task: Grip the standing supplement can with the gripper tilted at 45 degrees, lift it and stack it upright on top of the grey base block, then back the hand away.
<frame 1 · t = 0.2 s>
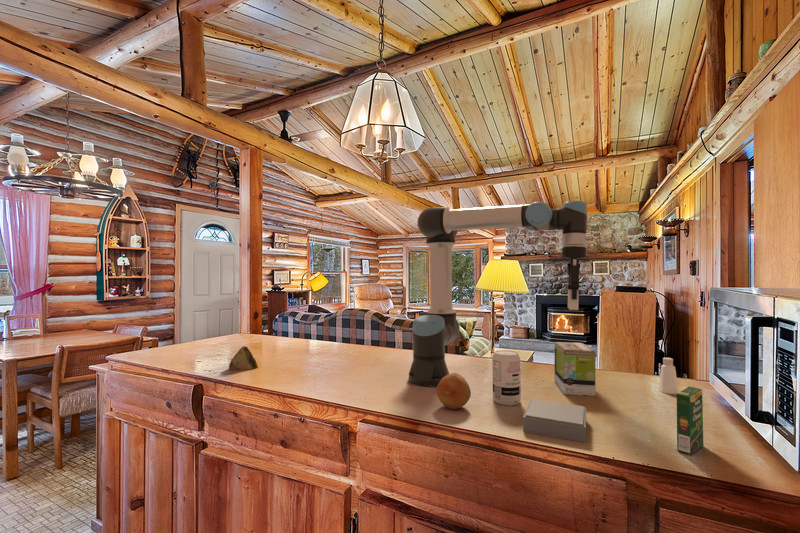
hand: (572, 309, 127), 27 cm above the counter, tool pointing down, fingers open, 13 cm apart
rock: (242, 369, 156), on the counter
onion: (453, 408, 110), on the counter
base block: (555, 426, 96), on the counter
supplement can: (506, 402, 115), on the counter
coffee box: (690, 450, 83), on the counter
tea box: (574, 389, 127), on the counter
pepper shaker: (668, 392, 123), on the counter
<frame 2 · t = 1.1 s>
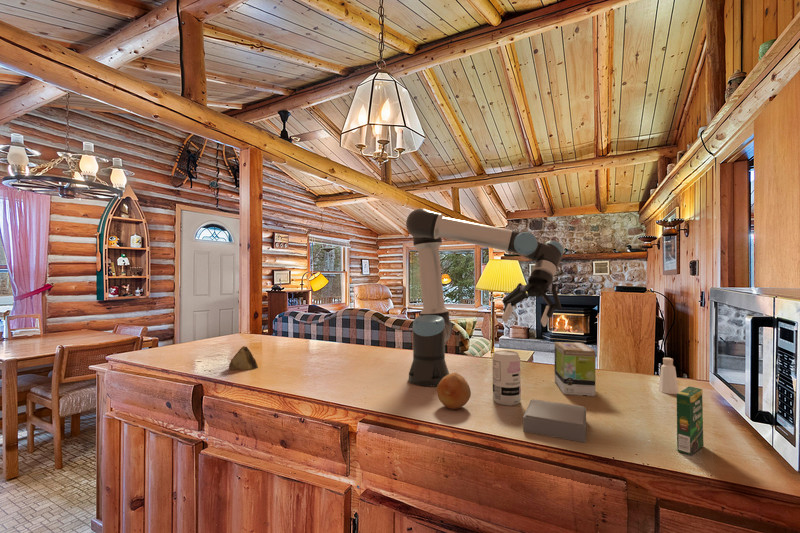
hand: (522, 322, 122), 23 cm above the counter, tool tilted 45°, fingers open, 13 cm apart
nothing on the counter moved.
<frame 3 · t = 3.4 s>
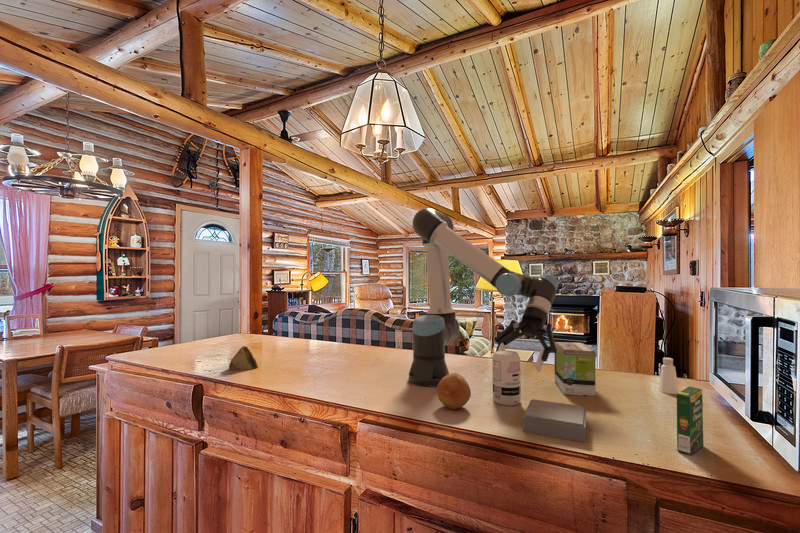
hand: (516, 365, 116), 11 cm above the counter, tool tilted 45°, fingers open, 13 cm apart
nothing on the counter moved.
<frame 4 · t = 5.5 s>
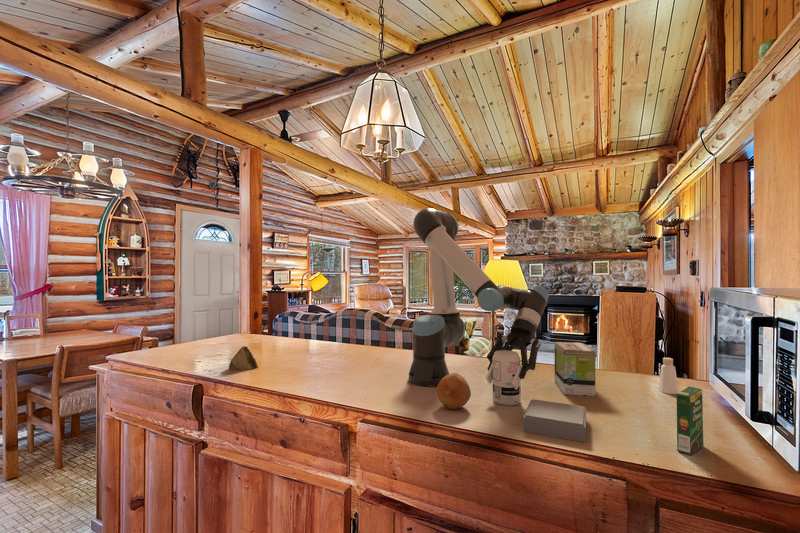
hand: (500, 383, 112), 6 cm above the counter, tool tilted 45°, fingers closed on supplement can, 8 cm apart
supplement can: (506, 402, 115), on the counter, touching gripper
everything else where it was.
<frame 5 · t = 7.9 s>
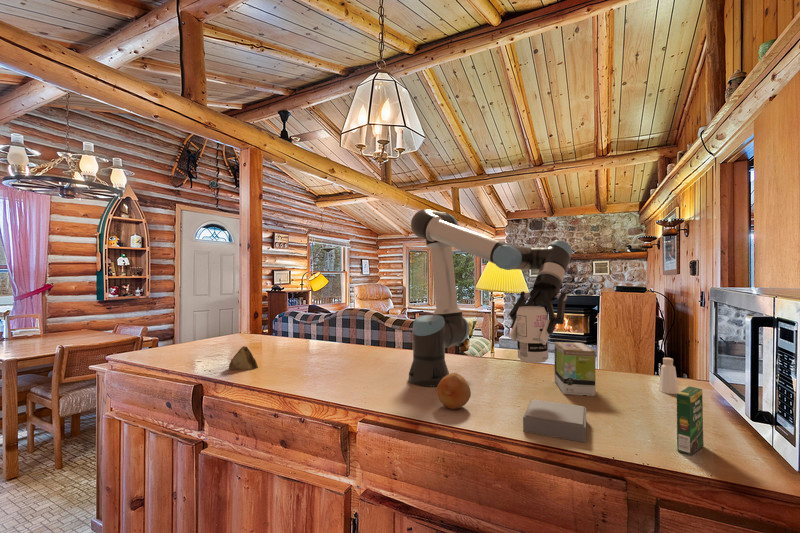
hand: (527, 339, 104), 21 cm above the counter, tool tilted 45°, fingers closed on supplement can, 8 cm apart
supplement can: (533, 360, 106), point 15 cm above the counter, touching gripper
everything else where it was.
when the fingers open (12 cm above the counter, at t = 10.5 s): supplement can drops 1 cm, resting on base block.
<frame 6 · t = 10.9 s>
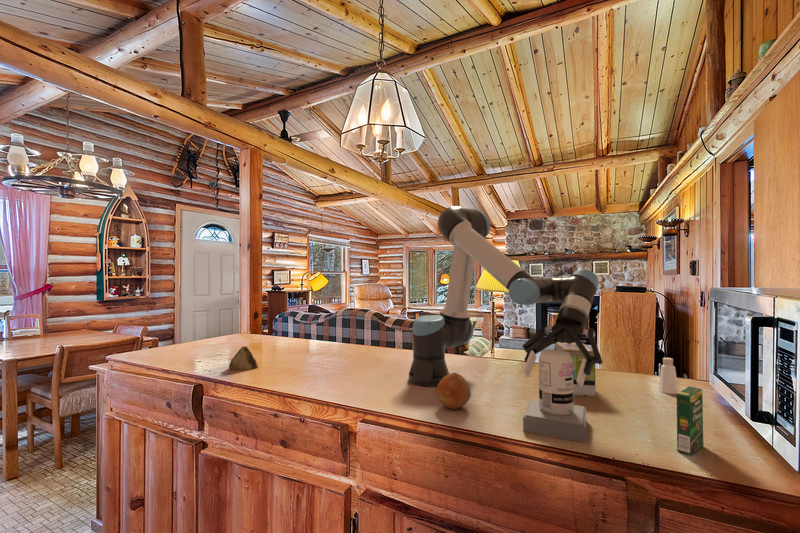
hand: (551, 378, 95), 13 cm above the counter, tool tilted 45°, fingers open, 13 cm apart
supplement can: (556, 411, 96), point 4 cm above the counter, touching base block
everything else where it was.
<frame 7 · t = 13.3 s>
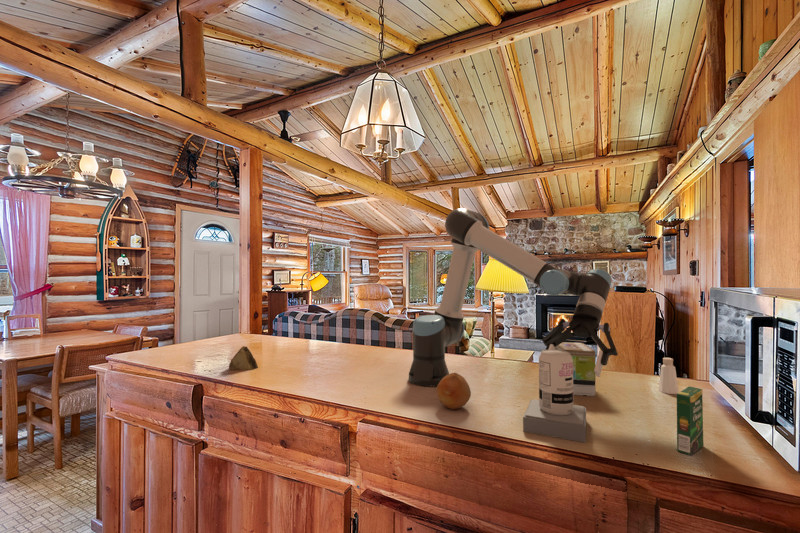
hand: (570, 369, 104), 13 cm above the counter, tool tilted 45°, fingers open, 13 cm apart
nothing on the counter moved.
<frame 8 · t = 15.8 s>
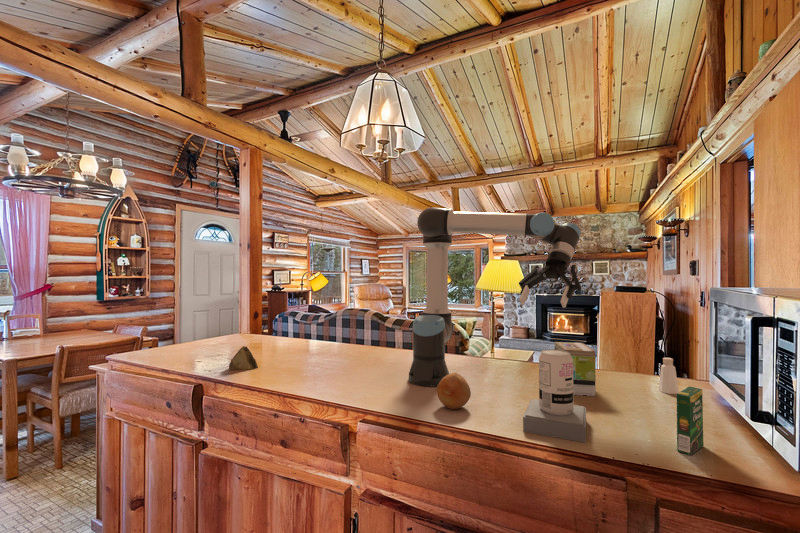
hand: (541, 303, 120), 30 cm above the counter, tool tilted 45°, fingers open, 13 cm apart
nothing on the counter moved.
at the end: supplement can inside the target area on the base block (0.2 cm from its centre), point 3.8 cm above the base block's base; supplement can tilted 0°; the gripper is holding nothing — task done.
